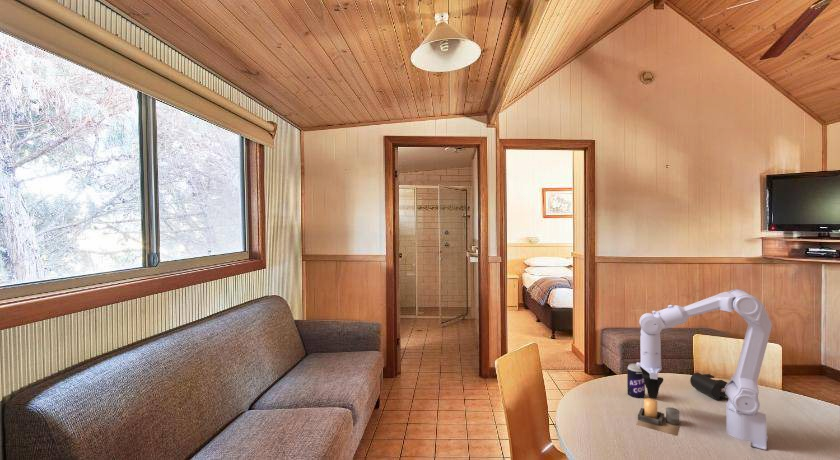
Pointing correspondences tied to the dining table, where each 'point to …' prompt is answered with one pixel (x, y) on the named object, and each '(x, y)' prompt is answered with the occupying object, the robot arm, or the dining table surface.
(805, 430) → the dining table surface
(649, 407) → the orange capsule
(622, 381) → the dining table surface
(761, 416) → the robot arm
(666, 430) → the housing
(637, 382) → the beverage can
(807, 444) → the dining table surface
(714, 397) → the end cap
